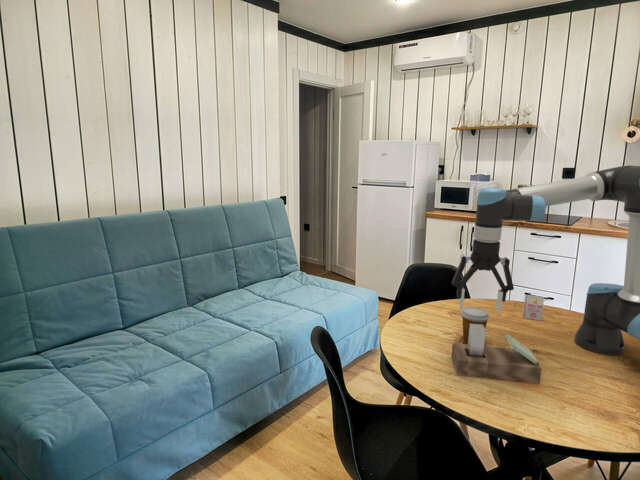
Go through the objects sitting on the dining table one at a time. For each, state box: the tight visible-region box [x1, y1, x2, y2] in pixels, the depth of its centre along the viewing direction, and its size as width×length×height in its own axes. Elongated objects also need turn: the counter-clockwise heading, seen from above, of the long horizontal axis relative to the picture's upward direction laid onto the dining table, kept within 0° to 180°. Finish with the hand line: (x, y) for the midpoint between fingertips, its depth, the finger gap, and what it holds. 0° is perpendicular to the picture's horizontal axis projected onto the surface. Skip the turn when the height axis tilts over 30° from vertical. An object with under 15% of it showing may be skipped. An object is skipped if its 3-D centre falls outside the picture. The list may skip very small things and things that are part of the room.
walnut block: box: [451, 342, 543, 385], centre depth 132 cm, size 24×12×5 cm, turn 80°
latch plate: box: [504, 333, 540, 365], centre depth 129 cm, size 10×8×1 cm
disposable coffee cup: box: [460, 306, 490, 344], centre depth 150 cm, size 10×10×12 cm
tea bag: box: [522, 294, 545, 322], centre depth 173 cm, size 4×7×10 cm, turn 66°
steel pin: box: [467, 324, 487, 358], centre depth 132 cm, size 4×4×14 cm
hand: (479, 309), depth 129 cm, fingers open, 10 cm apart
